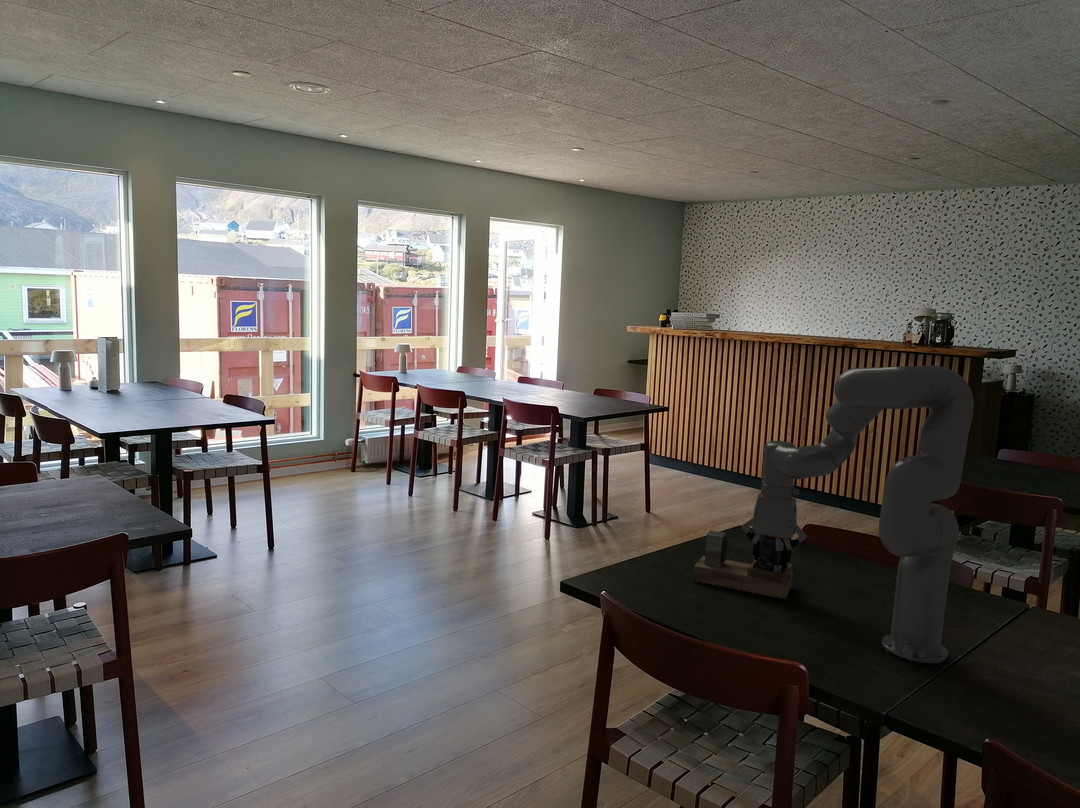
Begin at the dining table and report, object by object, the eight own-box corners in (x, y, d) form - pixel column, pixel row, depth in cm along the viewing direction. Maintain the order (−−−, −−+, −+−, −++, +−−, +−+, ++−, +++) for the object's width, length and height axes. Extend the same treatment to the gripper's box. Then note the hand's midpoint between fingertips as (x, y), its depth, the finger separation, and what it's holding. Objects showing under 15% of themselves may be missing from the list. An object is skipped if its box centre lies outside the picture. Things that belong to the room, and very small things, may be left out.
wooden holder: (785, 599, 190) (789, 552, 189) (692, 581, 200) (696, 535, 199) (791, 587, 199) (795, 541, 197) (702, 569, 209) (705, 526, 207)
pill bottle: (785, 579, 193) (790, 534, 191) (761, 577, 193) (765, 533, 191) (778, 570, 199) (783, 527, 197) (755, 569, 199) (759, 526, 197)
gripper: (815, 493, 193) (809, 563, 195) (744, 483, 200) (739, 551, 203) (811, 499, 186) (805, 572, 188) (738, 489, 194) (733, 559, 196)
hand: (771, 560), depth 196 cm, fingers open, 6 cm apart
